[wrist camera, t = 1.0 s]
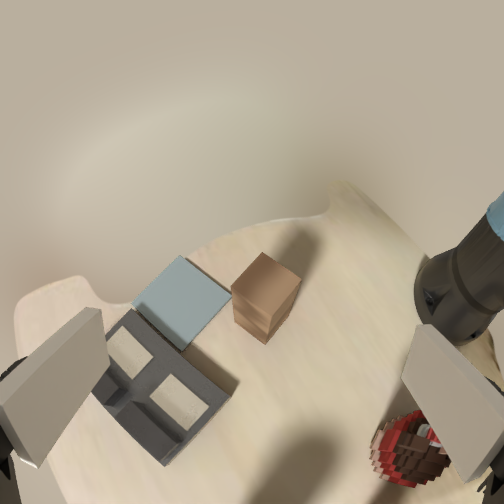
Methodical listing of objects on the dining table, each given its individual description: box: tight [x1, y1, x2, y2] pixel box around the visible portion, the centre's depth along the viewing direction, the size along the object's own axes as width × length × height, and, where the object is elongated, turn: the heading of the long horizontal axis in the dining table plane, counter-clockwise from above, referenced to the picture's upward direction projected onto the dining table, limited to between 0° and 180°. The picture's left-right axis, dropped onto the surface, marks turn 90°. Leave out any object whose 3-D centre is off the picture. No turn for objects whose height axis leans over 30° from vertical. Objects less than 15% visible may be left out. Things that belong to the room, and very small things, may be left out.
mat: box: [131, 255, 232, 351], centre depth 40 cm, size 10×10×1 cm
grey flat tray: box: [91, 308, 231, 467], centre depth 32 cm, size 17×12×5 cm
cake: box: [369, 410, 452, 488], centre depth 22 cm, size 11×9×18 cm
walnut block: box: [231, 252, 302, 345], centre depth 35 cm, size 5×5×11 cm
